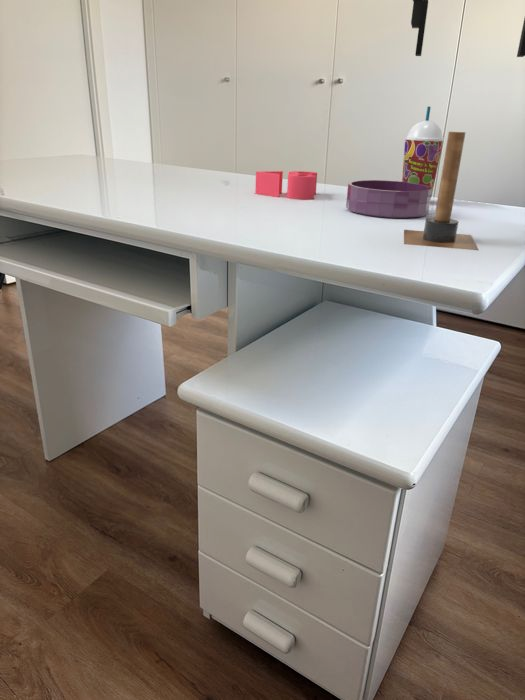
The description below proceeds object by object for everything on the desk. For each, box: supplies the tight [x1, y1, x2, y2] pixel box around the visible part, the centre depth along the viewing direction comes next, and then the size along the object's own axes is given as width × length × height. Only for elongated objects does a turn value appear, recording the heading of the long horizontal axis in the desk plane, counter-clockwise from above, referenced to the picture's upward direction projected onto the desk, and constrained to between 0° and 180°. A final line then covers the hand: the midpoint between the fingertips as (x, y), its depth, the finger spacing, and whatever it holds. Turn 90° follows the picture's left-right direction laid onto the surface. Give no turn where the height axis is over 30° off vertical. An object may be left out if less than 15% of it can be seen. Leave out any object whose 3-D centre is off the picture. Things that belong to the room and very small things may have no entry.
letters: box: [254, 170, 318, 200], centre depth 126 cm, size 14×10×5 cm
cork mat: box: [403, 229, 480, 251], centre depth 86 cm, size 11×11×1 cm
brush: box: [423, 131, 466, 243], centre depth 83 cm, size 5×5×16 cm
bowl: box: [345, 179, 433, 219], centre depth 107 cm, size 16×16×6 cm
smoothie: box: [401, 106, 445, 197], centre depth 119 cm, size 8×8×20 cm
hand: (468, 56), depth 75 cm, fingers open, 13 cm apart
